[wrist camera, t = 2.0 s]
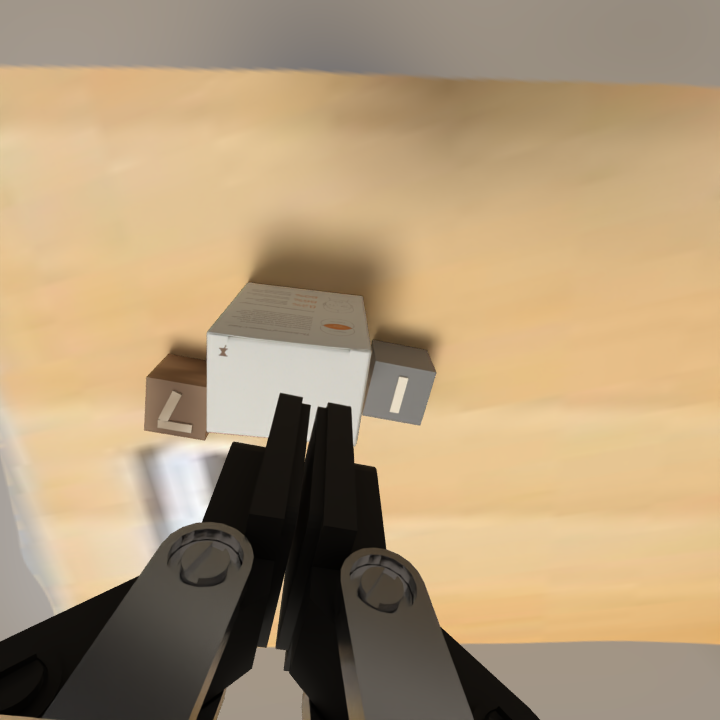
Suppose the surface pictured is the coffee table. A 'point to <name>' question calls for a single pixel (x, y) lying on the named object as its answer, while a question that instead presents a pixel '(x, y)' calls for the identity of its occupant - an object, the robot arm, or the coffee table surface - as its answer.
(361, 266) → the coffee table surface
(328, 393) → the small box
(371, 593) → the robot arm
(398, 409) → the digit one block
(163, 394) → the digit seven block
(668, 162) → the coffee table surface
